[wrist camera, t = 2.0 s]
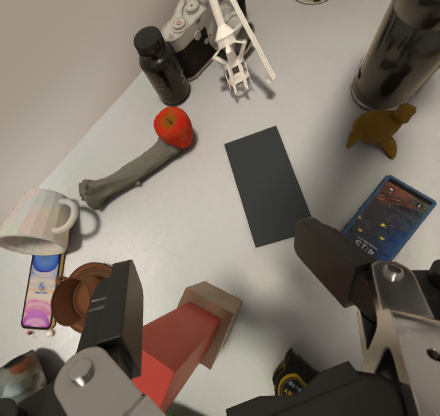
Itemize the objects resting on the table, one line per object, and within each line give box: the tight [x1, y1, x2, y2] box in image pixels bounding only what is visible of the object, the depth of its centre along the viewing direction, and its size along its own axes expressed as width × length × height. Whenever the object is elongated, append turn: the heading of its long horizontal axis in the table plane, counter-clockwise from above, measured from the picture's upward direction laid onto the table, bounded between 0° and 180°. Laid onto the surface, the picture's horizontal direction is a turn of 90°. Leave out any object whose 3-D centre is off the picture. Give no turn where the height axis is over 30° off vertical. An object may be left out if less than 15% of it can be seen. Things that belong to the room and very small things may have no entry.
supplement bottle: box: [134, 26, 189, 104], centre depth 42 cm, size 7×7×12 cm
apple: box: [154, 107, 193, 149], centre depth 41 cm, size 6×6×8 cm
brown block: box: [177, 281, 242, 369], centre depth 33 cm, size 7×7×9 cm
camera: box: [161, 0, 255, 81], centre depth 43 cm, size 20×11×10 cm, turn 136°
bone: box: [79, 137, 181, 210], centre depth 43 cm, size 22×6×6 cm, turn 119°
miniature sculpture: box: [209, 0, 276, 94], centre depth 37 cm, size 6×9×25 cm
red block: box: [132, 302, 220, 414], centre depth 22 cm, size 4×4×14 cm
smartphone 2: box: [21, 253, 64, 330], centre depth 44 cm, size 8×15×1 cm, turn 0°
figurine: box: [346, 103, 416, 159], centre depth 34 cm, size 8×8×6 cm
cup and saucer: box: [51, 262, 112, 333], centre depth 39 cm, size 12×12×6 cm
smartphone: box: [341, 175, 436, 261], centre depth 34 cm, size 8×1×15 cm
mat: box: [224, 126, 311, 247], centre depth 40 cm, size 10×20×1 cm, turn 15°
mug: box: [0, 189, 79, 256], centre depth 42 cm, size 10×15×10 cm
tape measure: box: [272, 348, 319, 396], centre depth 31 cm, size 7×7×4 cm
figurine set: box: [26, 331, 53, 338], centre depth 43 cm, size 1×8×1 cm, turn 93°
